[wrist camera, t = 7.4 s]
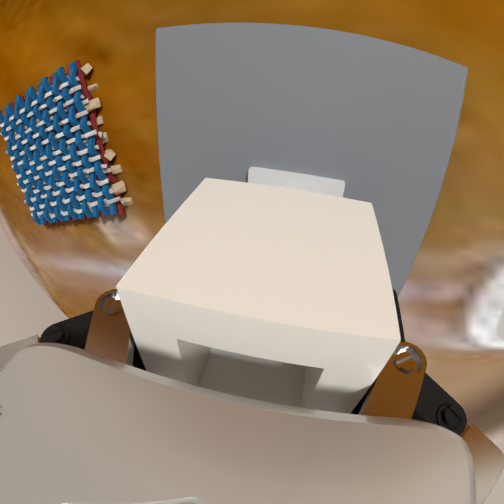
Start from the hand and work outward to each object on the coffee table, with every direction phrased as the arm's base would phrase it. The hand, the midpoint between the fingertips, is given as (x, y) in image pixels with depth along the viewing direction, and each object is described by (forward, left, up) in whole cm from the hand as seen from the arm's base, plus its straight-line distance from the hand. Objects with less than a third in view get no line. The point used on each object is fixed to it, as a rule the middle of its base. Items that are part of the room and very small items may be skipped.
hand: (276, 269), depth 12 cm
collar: (0, 0, -1) cm, 1 cm away
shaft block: (0, 0, -6) cm, 6 cm away
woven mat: (+16, -2, -6) cm, 17 cm away
